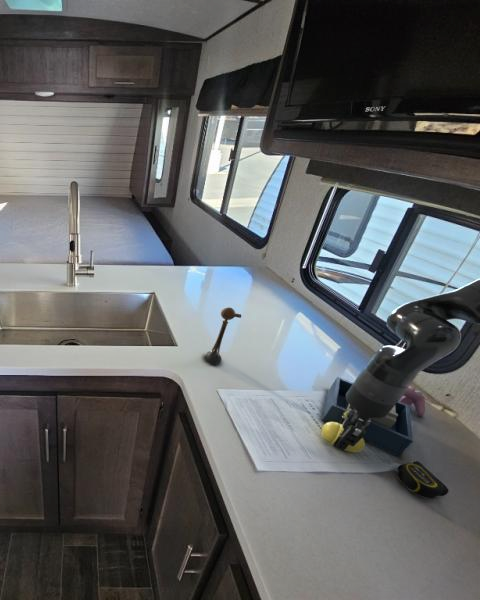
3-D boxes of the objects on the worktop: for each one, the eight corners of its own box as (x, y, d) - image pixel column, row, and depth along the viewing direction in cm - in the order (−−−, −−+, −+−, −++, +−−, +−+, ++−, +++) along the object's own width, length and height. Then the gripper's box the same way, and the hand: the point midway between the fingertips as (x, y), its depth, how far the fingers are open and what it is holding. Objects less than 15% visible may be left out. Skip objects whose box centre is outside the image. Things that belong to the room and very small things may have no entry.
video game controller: (414, 412, 90) (423, 389, 89) (425, 418, 86) (434, 393, 85) (371, 399, 93) (379, 377, 92) (379, 405, 89) (388, 381, 88)
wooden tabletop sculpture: (223, 358, 104) (242, 306, 94) (224, 367, 100) (244, 314, 90) (204, 354, 105) (220, 302, 95) (204, 363, 102) (221, 310, 91)
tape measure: (443, 499, 68) (455, 489, 66) (416, 503, 67) (427, 493, 65) (411, 468, 74) (420, 458, 72) (385, 471, 73) (394, 461, 71)
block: (379, 417, 86) (396, 394, 82) (378, 442, 79) (398, 419, 75) (343, 401, 90) (358, 379, 86) (340, 423, 84) (356, 401, 79)
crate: (397, 420, 85) (409, 405, 82) (399, 456, 76) (413, 441, 73) (328, 390, 94) (337, 376, 91) (322, 420, 84) (332, 405, 81)
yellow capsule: (359, 443, 78) (370, 432, 75) (356, 460, 75) (367, 450, 72) (320, 424, 82) (328, 413, 79) (316, 440, 80) (324, 429, 76)
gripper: (399, 420, 62) (356, 471, 71) (396, 381, 72) (359, 429, 81) (352, 400, 66) (317, 450, 75) (356, 365, 76) (324, 413, 85)
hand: (339, 439), depth 78 cm, fingers closed on yellow capsule, 5 cm apart
